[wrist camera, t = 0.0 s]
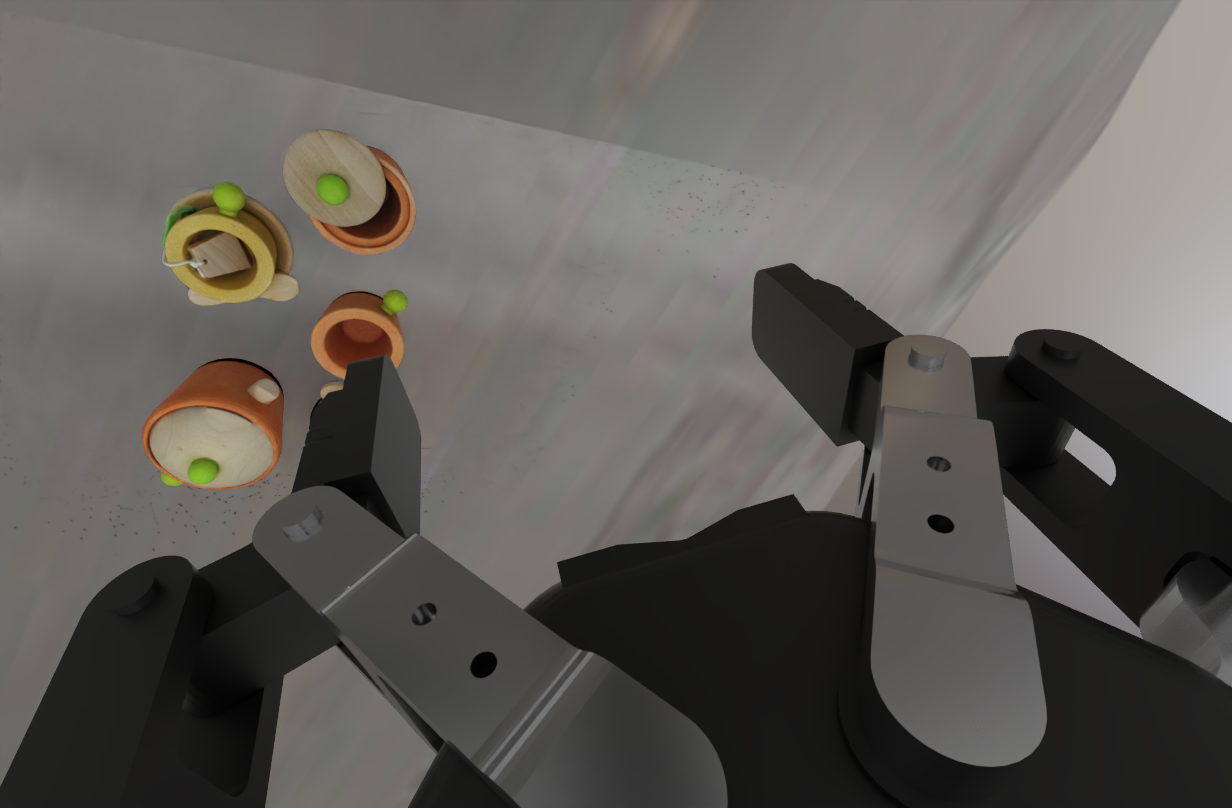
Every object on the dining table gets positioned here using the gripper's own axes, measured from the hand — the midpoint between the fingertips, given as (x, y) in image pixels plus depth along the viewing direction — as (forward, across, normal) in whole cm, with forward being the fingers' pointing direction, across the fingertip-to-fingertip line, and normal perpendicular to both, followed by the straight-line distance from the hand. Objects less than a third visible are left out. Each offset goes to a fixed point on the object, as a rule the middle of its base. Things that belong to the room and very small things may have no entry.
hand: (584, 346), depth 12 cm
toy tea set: (+29, +15, +10) cm, 34 cm away
